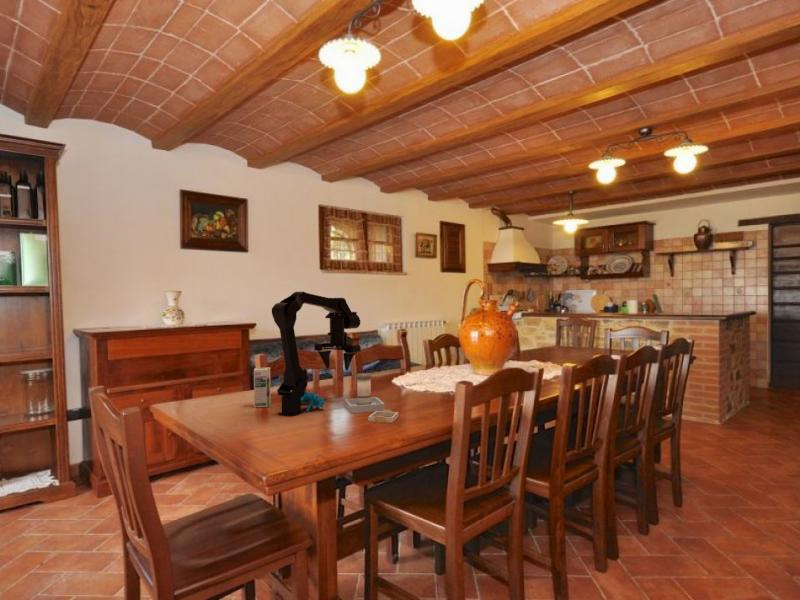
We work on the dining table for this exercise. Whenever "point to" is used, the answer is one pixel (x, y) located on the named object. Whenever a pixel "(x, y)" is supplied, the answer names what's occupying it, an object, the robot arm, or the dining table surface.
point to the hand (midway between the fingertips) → (337, 369)
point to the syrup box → (261, 387)
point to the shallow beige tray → (383, 416)
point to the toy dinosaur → (311, 400)
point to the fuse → (363, 389)
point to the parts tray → (374, 406)
